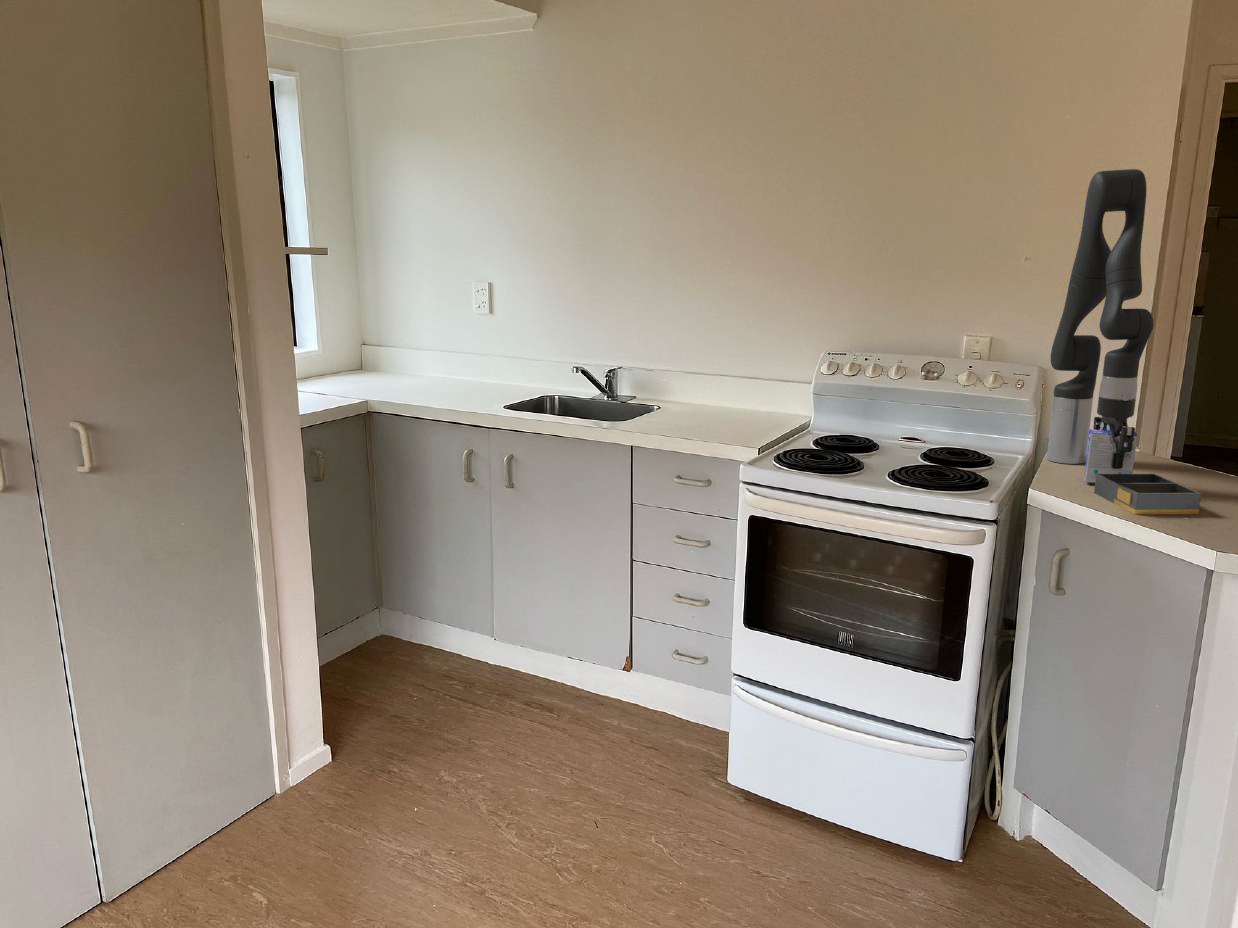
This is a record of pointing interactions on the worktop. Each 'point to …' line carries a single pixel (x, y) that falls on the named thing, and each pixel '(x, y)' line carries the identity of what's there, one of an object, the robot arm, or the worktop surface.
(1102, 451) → the ink cartridge box
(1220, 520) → the worktop surface
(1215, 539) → the worktop surface
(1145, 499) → the tray
